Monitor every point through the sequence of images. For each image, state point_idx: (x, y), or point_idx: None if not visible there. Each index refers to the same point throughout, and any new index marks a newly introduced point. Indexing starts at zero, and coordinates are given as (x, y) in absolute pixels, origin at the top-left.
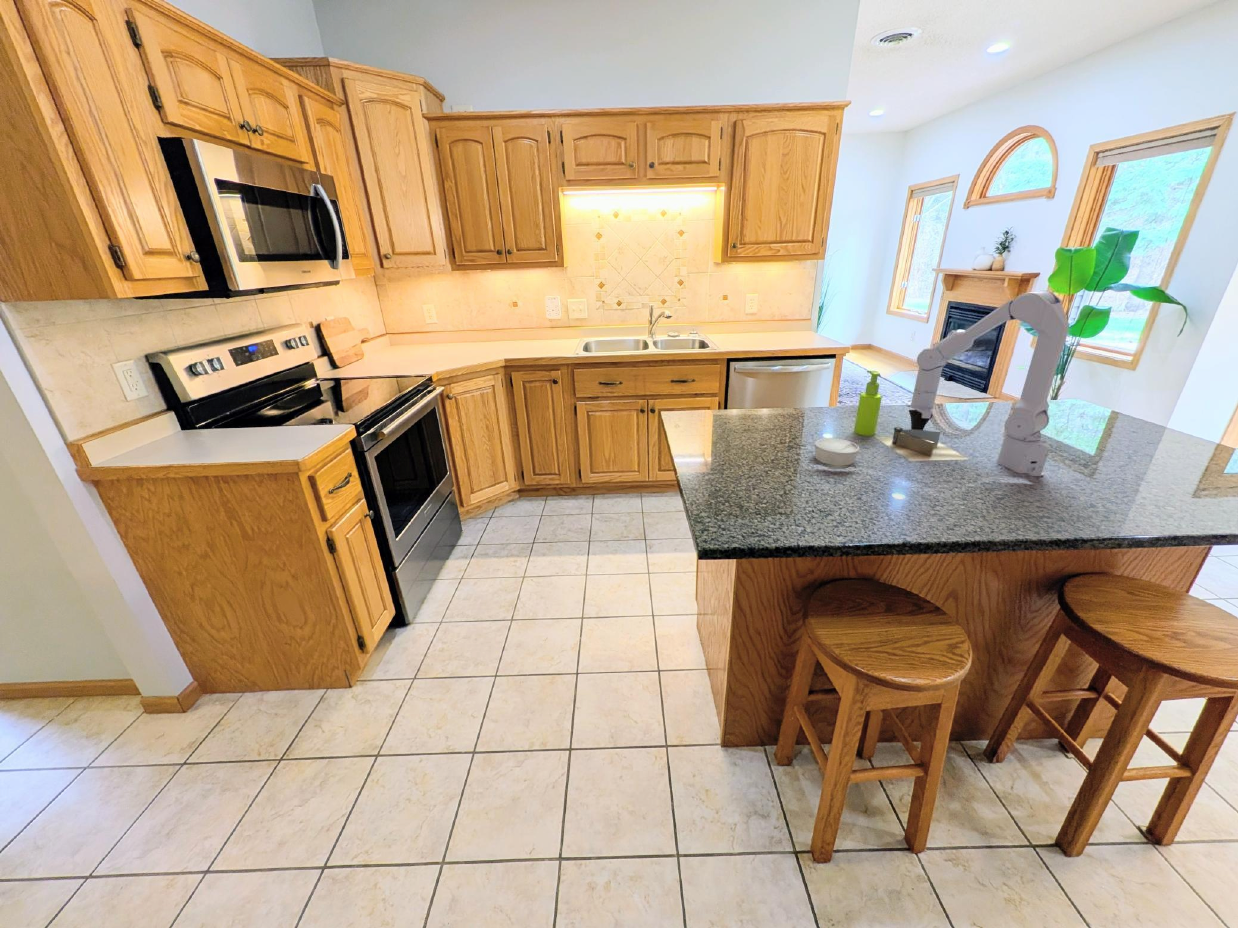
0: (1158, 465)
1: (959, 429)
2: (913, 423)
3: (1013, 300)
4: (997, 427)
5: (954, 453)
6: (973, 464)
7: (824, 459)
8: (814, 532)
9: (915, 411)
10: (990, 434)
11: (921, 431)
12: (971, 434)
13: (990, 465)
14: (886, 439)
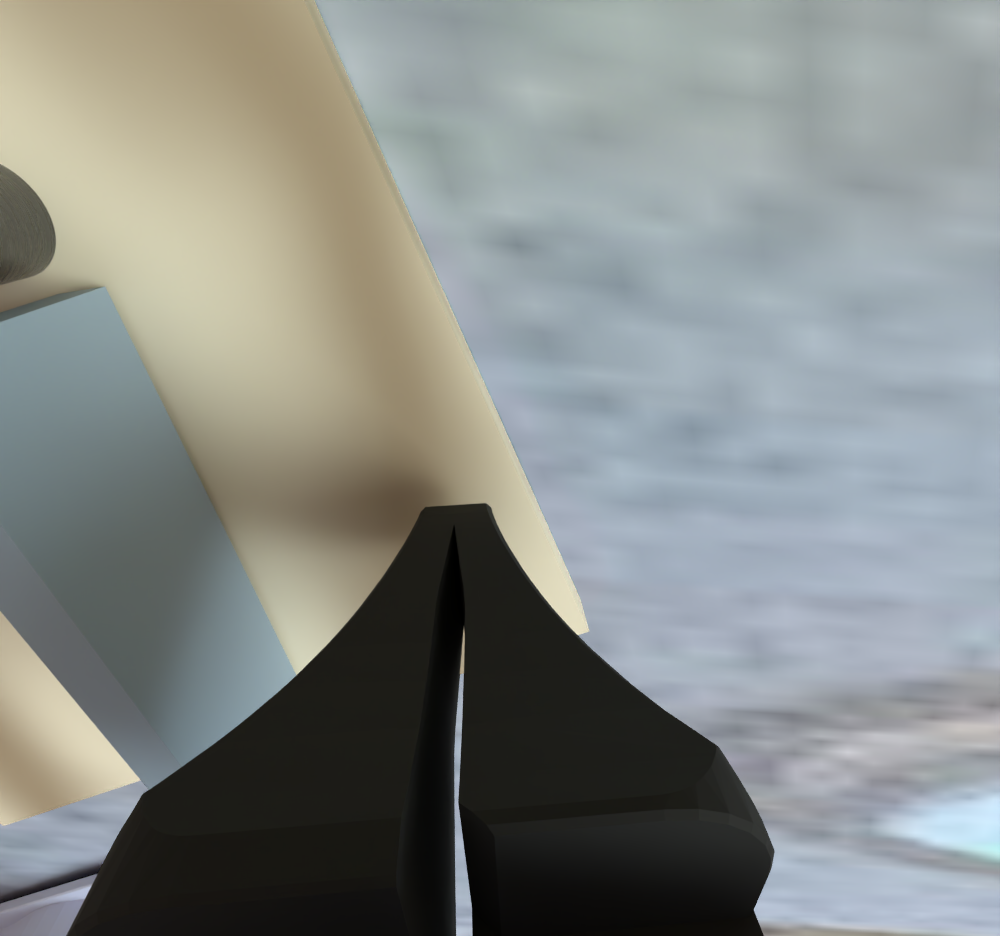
0: None
1: (897, 795)
2: (339, 641)
3: None
4: (922, 916)
5: (90, 765)
6: None
7: None
8: None
9: (550, 931)
10: (783, 892)
11: (81, 684)
12: (777, 834)
13: (101, 863)
14: (151, 65)
